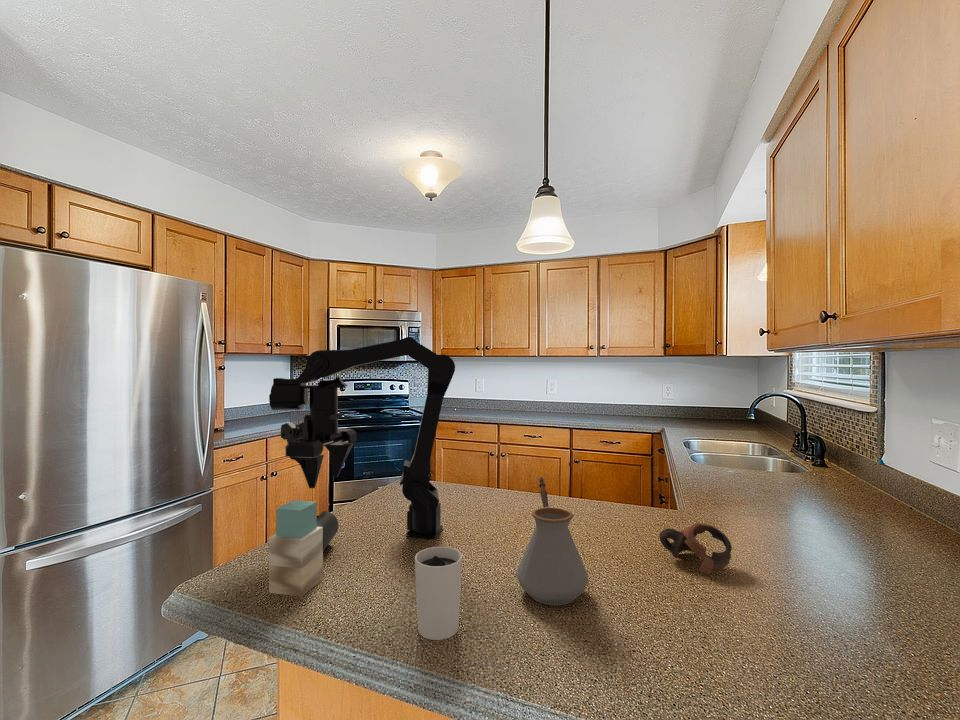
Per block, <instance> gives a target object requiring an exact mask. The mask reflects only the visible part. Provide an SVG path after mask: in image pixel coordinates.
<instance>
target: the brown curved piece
mask: <svg viewBox="0 0 960 720" xmlns="http://www.w3.org/2000/svg"><path fill="white" fill-rule="evenodd" d="M705 532H708V533H710V534H711V537H712V538H713V539H715V540H718V541H721V542H722V544H723V545H724V547H725V550H724V551H722V552H721V551H720V552H717V551H712V554H711V556H710V555H707V554H706V553H707V548H706V547H705V546H704V545H703V544H702V543H700V542H699V541H698V540H697V538H696V536H698V535H701V534H703V533H705ZM658 537H659V541H660V543H661V544H662V547H664V549H666V550H667V551H669V552H670V553H671V555H672V557H673V558H675V559H676V558H678V555H679V554H680V553H682V552H686V551H688V552H691V553H694V554H695V555H696V556H697V557H698V558H700V560H701V565H700V566H699V567H698V570H699V572H700V573H702V574H704V575H706V576H708V575H710V574H711V573H712V572H713V571H714V572H716V571H718V570H721V569H722V568H725V567H727V566H728V565H729V564H730V561H731V559H732V553H731V552H732V550H733V549H732V543H731V541H730V540H729V538H728V537H727V535H726V534H725V533H723V532H722V531H721V530H719V529H718V528H716V527H715V526H712V525H709V524H706V523H703V522H702V523H701V522H698V523H694V524H692V525H691V526H688V527H686V528H684V529H683V530H680V531H678V530H676V529H674V528H671V527H670V528H665V529H663V530H661V531H660V533H659V536H658ZM669 539H671V540H673V542H670V540H669Z"/></svg>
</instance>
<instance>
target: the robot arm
mask: <svg viewBox="0 0 960 720" xmlns="http://www.w3.org/2000/svg"><path fill="white" fill-rule="evenodd" d="M404 356H407V357H410V358H411V359H413V360H414V361H416V362H418V364H421V365H422V366H423V367H425V368H427V386H426V387H427V388H426V389H427V390H426V399H425V402H424V407H423V411H422V416H421V421H420V425H419V431H418V435H417V440H416V444H415V448H414V452H413V455H412V457H411V460H410V461H409V460H408V459H405V460H404V462H403V471H402V474H401V476H400V479H399V485H400V486H402V490H401V491H402V495H403V496H404V497H405V499H407V500H408V501H409V502H411V503H410V504H409V507H408V511H407V512H406V530H407V532H406V533H405V535H406V537H411V538H412V537H413V538H415V537H416V538H426V539H435V538H436V537H437V536H438V535H439V534H440V532H441V531H442V530H443V529H444V525H442V523H441V513H442V512H441V503H442V502H440V498H439V491H438V488H437V487H435V486H434V485H433V484H432V483H431V481H430V478H431V474H430V473H431V456H432V453H433V452H432V451H433V447H434V442H435V438H436V434H437V430H438V429H437V428H438V423H439V419H440V414H441V410H442V405H443V401H444V397H445V395H446V392H447V390H448V388H449V386H450V384H451V382H452V379H453V376H454V374H455V371H456V364H455V361H454V360H453V358H451V357H450V356H449V355H446V354H437V353H435V352H434V351H432V350H431V349H429V348H427V347H426V346H424V345H423V344H421V343H419V342H418V341H417V340H416V338H413V337H410V336H406V337H403V338H401V339H397V340H392V341H387V342H383V343H382V342H381V343H378V344H372V345H367V346H363V347H357V348H352V349H329V350H328V349H325V350H315V351H313V352H312V353H311V354H309V356H308V357H307V360H306V367H304V369H303V370H302V372H301V373H300V374H299V375H298V377H297V378H283V377H275V378H273V380H272V386H271V389H270V393H269V396H268V400H269V407H270V408H271V410H272V411H295V410H296V411H301V410H302V409H303V407H304V406H305V405H308V403H309V414H305V415H304V417H303V422H300V423H298V424H295V423H294V422H292V421H290V422H285V423H283V424H281V425H280V426H281V427H280V439H282V440H286V445H285V447H284V448H285V453H284V455H285V457H287V458H288V457H289V458H290V459H291V460H292V461H295V462H297V463H298V464H299V466H300V467H301V470H302V472H303V475H304V477H305V481H306V482H307V486H308V488H309V489H316V486H317V482H318V479H319V475H320V471H321V468H322V463H323V459H324V456H325V455H324V454H322V453H323V451H324V448H326V449H327V450H328V452H329V455H330V464H331V466H330V467H331V474H332V478H338V477H339V475H340V473H341V471H342V468H343V466H344V464H345V462H346V460H347V458H348V456H349V454H350V452H351V450H352V448H353V446H354V445H355V444H354V443H355V442H357V439H358V437H357V435H358V434H357V433H358V432H356V431H355V429H353V428H339V419H342V417H343V416H342V412H338V411H339V408H338V403H339V402H338V401H339V399H338V397H339V396H338V393H339V392H338V391H339V390H338V389H342V388H343V389H344V388H346V387H348V384H347V383H346V382H345V381H343V379H342V378H341V376H336V377H335V379H328V380H327V379H326V380H325V379H324V380H322V379H323V378H329V377H333V376H335V375H337V374H340V373H342V372H346V371H347V370H349V369H352V368H355V367H357V366H361V365H362V366H363V365H366V364H370V363H377V362H380V361H381V362H382V361H386V360H391V359H395V358H400V357H404ZM321 378H322V379H321ZM319 379H321V380H320V381H319V383H318V384H315V385H311V384H308V385H307V383H313V382H316V381H318V380H319Z"/></svg>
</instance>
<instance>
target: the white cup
mask: <svg viewBox="0 0 960 720" xmlns="http://www.w3.org/2000/svg"><path fill="white" fill-rule="evenodd" d="M462 555H463V554H462V553H461V552H460V550H458V549H456V548H454V547H449V546H432V547H427V548H425V549H421V550H419V551H418V552H417V553H416V554H415V556H414V571H415V572H414V573H415V591H416V592H415V593H416V594H415V596H416V598H415V599H416V617H417V618H416V620H417V632H418V633H419V635H420V636H422V637H423V638H424V639H427V640H430V641H442V640H446V639H449V638H451V637H453V636H455V635H456V633H458V631H459V628H460V627H459V626H460V608H461V607H460V605H461V604H460V603H461V583H462V565H463V564H462V561H463V559H462V558H463V556H462Z"/></svg>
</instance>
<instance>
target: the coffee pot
mask: <svg viewBox="0 0 960 720" xmlns="http://www.w3.org/2000/svg"><path fill="white" fill-rule="evenodd" d="M537 481H539V484H538V483H537ZM535 484H536V485H537V486H538V487H539V488H540V489H539V490H540V491H539V493H540V499H541V502H542V506H543V507H540V508H537V509H534V510H533V511H532V513H531V516H532V518H533V519H534V521H535V527H534V529H533V531H532V535H531V537H530V539H529V541H528V544H527V545H526V548H525V550H524V553H523V556H522V558H521V561H520V562H519V565H518V566H517V567H518V568H517V570H516V571H517V572H516V579H517V580H518V584H519V585H520V587H521V588H522V589H523V590H524V592H526V594H527V595H528V596H529V597H530V598H531V599H533V600H535V602H537V603H540V604H543V605H546V606H547V605H549V606H564V605H568V604H570V603H572V602H574V601H575V600H576V598H579V596H581V594H583V593H584V592H585V591H586V588H587V586H588V583H589V577H588V576H589V575H588V573H587V570H586V568H585V564H584V562H583V560H582V557H581V555H580V554H579V551H578V548H577V547H576V543H575V541H574V539H573V537H572V534H571V530H570V529H569V525H570V523H571V521H572V518H574V516H575V514H574V513H573V512H571V511H569V510H566V509H563V508H560V507H559V508H558V507H549V499H548V492H547V490H546V485H547V484H548V480H547V479H546V478H543V477H542V476H540V477H539V478H537V479H535Z"/></svg>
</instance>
